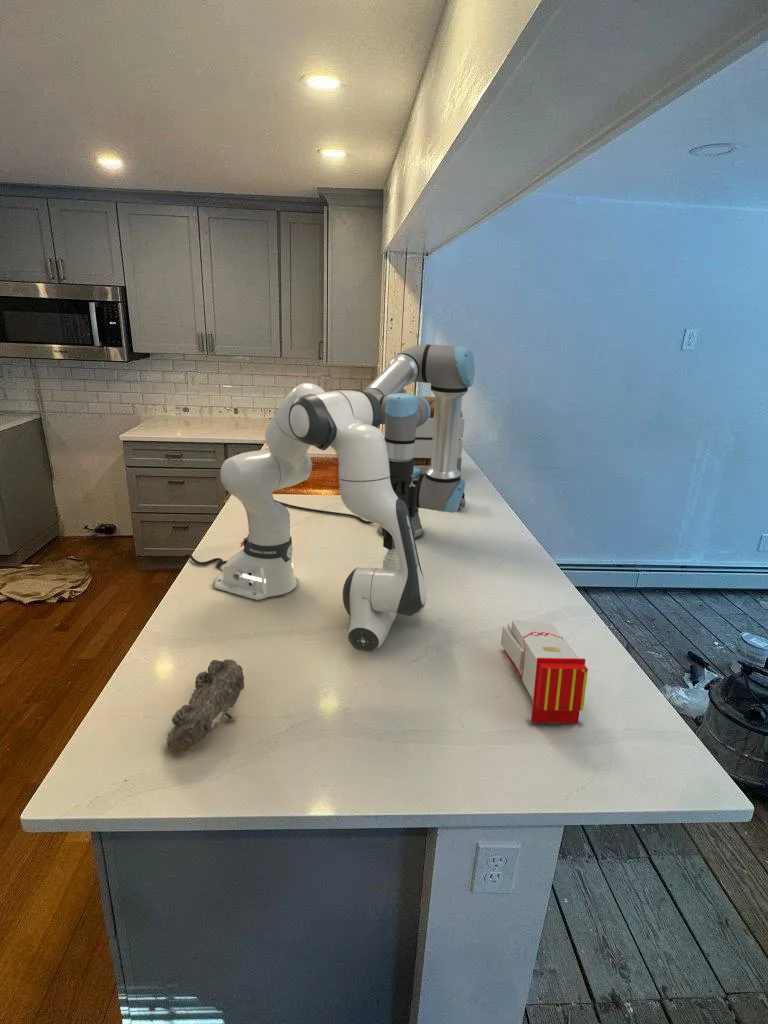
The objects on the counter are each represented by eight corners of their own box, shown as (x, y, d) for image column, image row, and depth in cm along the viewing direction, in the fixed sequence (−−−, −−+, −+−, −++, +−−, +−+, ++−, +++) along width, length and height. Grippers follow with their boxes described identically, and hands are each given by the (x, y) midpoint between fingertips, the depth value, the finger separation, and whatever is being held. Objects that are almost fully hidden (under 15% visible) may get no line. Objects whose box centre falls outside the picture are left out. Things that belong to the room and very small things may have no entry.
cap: (402, 543, 148) (402, 535, 148) (401, 549, 145) (401, 541, 144) (387, 542, 149) (387, 535, 148) (386, 548, 145) (386, 540, 144)
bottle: (405, 604, 152) (409, 540, 146) (390, 610, 149) (394, 545, 143) (391, 596, 156) (394, 534, 150) (376, 602, 153) (379, 539, 146)
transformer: (382, 463, 289) (386, 382, 275) (445, 464, 293) (451, 384, 279) (390, 482, 257) (394, 392, 243) (460, 483, 261) (468, 394, 247)
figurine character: (465, 515, 224) (460, 499, 237) (467, 498, 221) (462, 483, 234) (448, 515, 224) (444, 499, 237) (450, 498, 220) (445, 482, 234)
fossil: (192, 660, 117) (244, 628, 112) (224, 691, 120) (276, 661, 115) (142, 746, 98) (202, 712, 93) (182, 779, 101) (242, 748, 96)
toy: (547, 606, 135) (596, 665, 106) (541, 658, 138) (589, 729, 108) (496, 604, 134) (532, 664, 105) (492, 657, 137) (526, 729, 108)
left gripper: (423, 601, 135) (432, 577, 148) (341, 589, 140) (356, 566, 152) (421, 624, 138) (430, 598, 150) (340, 611, 142) (356, 587, 154)
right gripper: (414, 450, 147) (409, 534, 155) (362, 459, 136) (359, 548, 144) (434, 457, 141) (427, 543, 149) (381, 466, 131) (377, 558, 139)
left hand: (392, 582), depth 151 cm, fingers closed on bottle, 5 cm apart
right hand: (394, 545), depth 147 cm, fingers closed on cap, 4 cm apart
